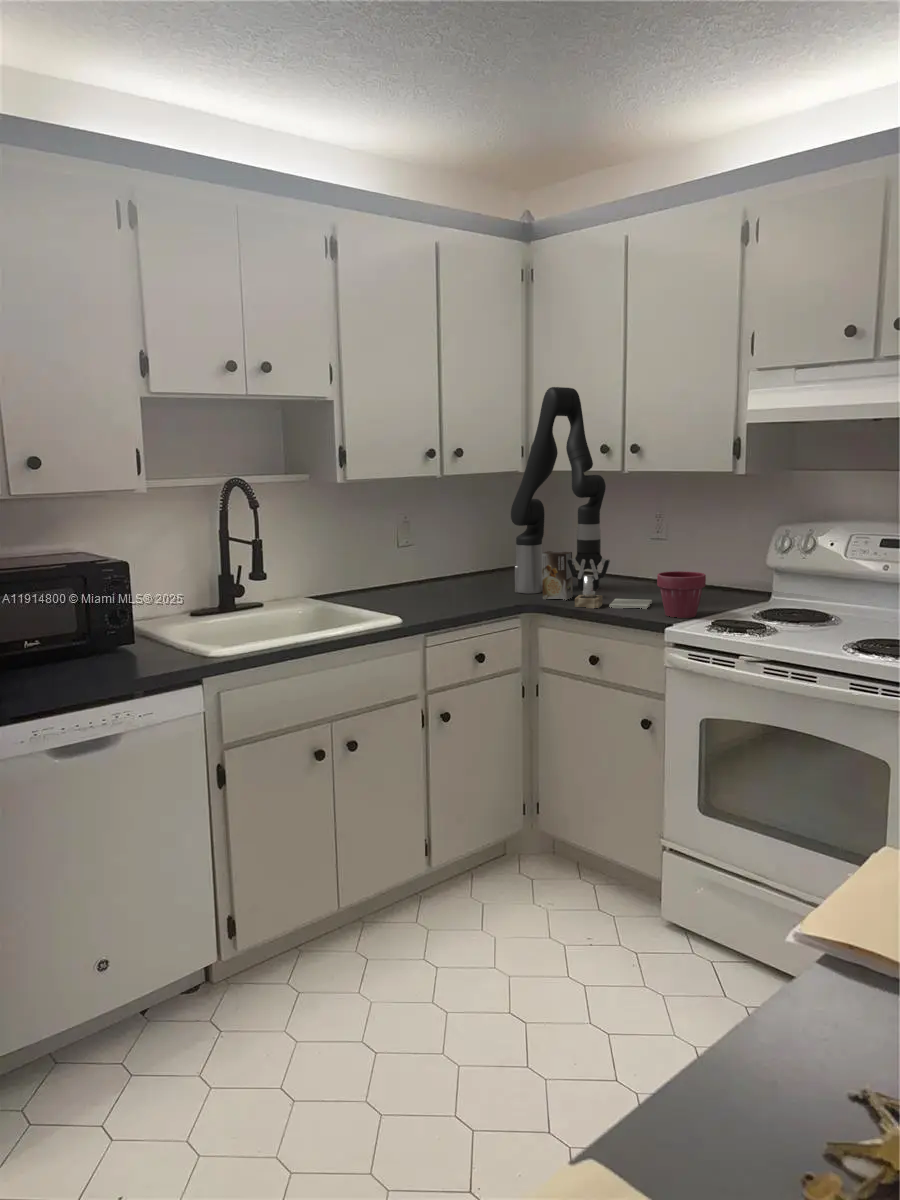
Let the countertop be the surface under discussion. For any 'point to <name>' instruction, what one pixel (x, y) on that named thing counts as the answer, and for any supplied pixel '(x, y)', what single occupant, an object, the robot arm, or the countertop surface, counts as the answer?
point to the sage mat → (630, 603)
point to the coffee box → (556, 575)
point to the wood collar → (588, 601)
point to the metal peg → (588, 586)
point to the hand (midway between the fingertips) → (588, 590)
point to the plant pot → (681, 592)
